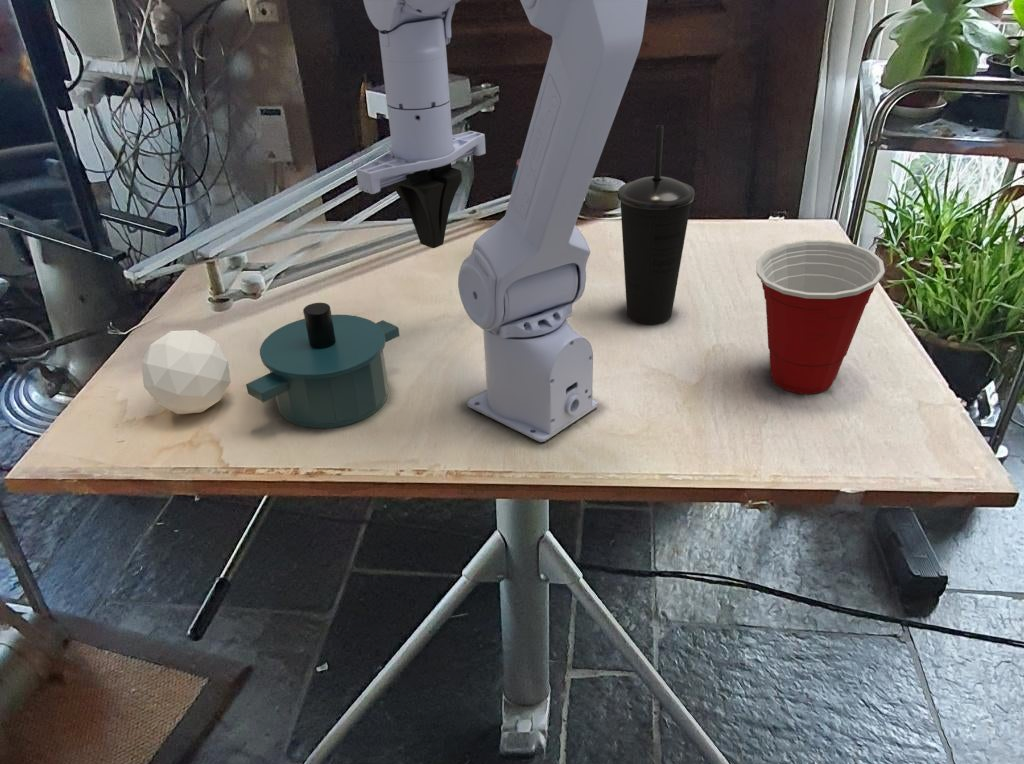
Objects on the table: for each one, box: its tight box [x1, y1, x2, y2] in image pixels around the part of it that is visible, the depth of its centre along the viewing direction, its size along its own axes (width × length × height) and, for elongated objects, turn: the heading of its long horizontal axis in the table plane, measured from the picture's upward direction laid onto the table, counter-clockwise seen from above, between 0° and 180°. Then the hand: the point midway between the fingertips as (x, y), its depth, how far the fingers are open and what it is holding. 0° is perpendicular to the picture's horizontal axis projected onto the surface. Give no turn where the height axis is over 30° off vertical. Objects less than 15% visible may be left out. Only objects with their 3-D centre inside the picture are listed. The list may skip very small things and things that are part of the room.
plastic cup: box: [755, 239, 886, 395], centre depth 81 cm, size 11×11×12 cm
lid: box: [259, 302, 386, 379], centre depth 81 cm, size 11×11×5 cm
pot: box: [245, 319, 400, 429], centre depth 84 cm, size 10×16×6 cm, turn 137°
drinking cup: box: [617, 124, 696, 325], centre depth 91 cm, size 8×8×20 cm
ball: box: [141, 329, 232, 415], centre depth 83 cm, size 8×8×8 cm
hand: (431, 244), depth 88 cm, fingers closed
